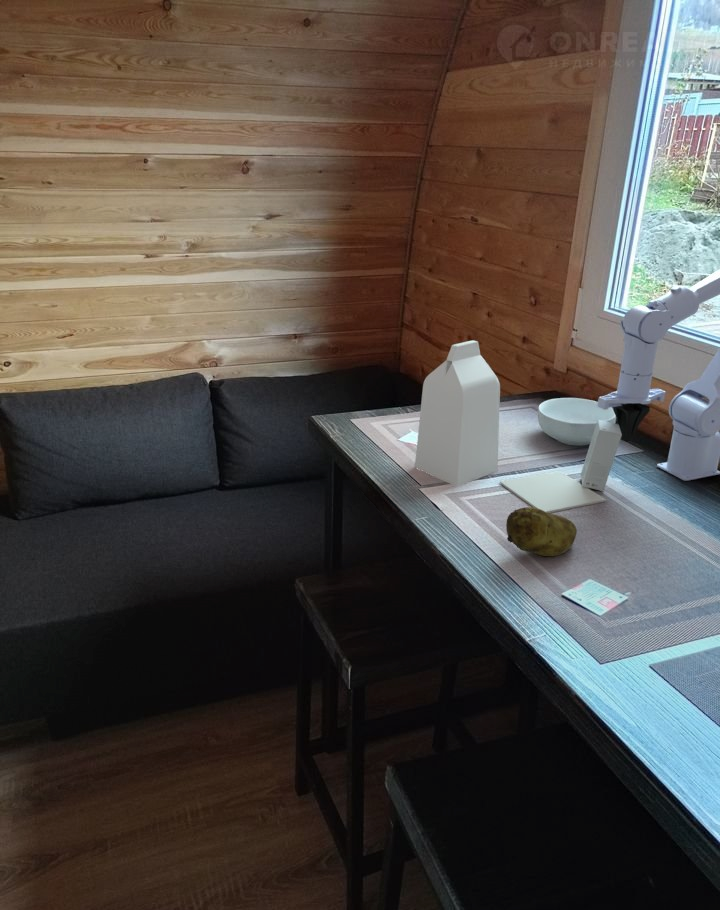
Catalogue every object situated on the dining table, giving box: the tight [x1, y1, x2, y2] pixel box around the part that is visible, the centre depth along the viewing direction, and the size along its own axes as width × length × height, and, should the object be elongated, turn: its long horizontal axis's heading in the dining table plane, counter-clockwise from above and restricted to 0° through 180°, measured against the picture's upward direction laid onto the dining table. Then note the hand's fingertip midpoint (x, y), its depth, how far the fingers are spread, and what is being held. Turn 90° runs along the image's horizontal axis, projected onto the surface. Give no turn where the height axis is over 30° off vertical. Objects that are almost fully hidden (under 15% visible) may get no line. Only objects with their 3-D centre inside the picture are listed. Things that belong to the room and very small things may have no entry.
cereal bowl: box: [537, 397, 617, 446], centre depth 171 cm, size 17×17×7 cm
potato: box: [505, 506, 578, 557], centre depth 124 cm, size 8×13×8 cm, turn 99°
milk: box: [414, 340, 501, 488], centre depth 151 cm, size 12×12×26 cm
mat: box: [499, 470, 607, 514], centre depth 147 cm, size 14×14×1 cm
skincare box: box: [580, 420, 622, 492], centre depth 148 cm, size 6×4×12 cm
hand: (625, 439), depth 149 cm, fingers closed
